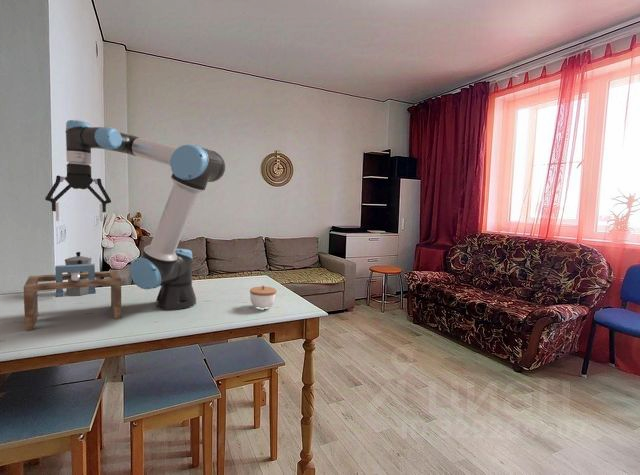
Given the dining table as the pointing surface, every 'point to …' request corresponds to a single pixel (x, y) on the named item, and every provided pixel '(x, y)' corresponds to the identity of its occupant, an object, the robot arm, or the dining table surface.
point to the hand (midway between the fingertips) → (80, 220)
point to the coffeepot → (76, 261)
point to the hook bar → (75, 277)
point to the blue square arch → (74, 268)
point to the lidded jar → (262, 296)
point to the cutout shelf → (33, 287)
